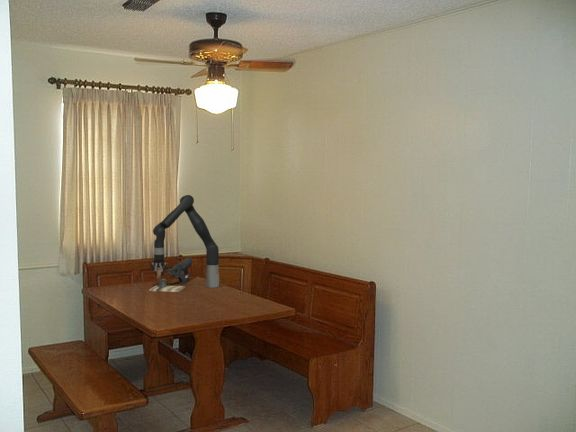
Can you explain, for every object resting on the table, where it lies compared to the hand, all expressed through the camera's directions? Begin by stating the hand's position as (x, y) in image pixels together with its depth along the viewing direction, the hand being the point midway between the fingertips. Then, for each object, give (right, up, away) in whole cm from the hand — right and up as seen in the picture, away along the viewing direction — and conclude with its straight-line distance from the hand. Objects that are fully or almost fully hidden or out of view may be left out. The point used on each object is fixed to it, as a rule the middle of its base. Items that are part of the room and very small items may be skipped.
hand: (159, 276), depth 403 cm
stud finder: (+1, -9, +8) cm, 12 cm away
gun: (+11, -9, +24) cm, 28 cm away
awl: (0, -2, 0) cm, 2 cm away
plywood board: (+5, -10, +5) cm, 13 cm away
